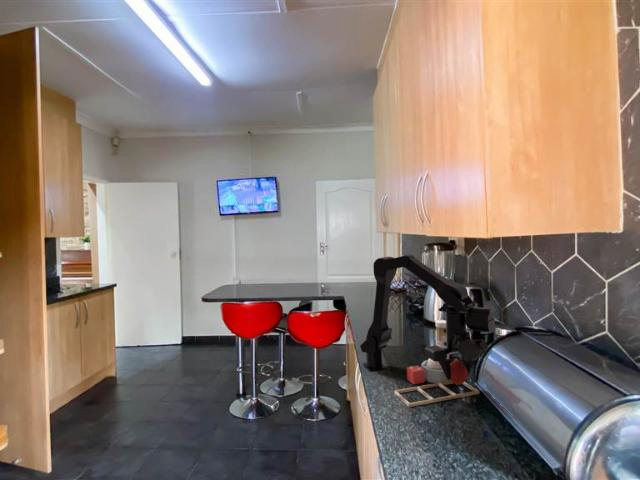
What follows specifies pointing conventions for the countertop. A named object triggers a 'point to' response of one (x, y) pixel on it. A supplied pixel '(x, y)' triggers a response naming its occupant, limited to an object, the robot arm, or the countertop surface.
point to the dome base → (425, 374)
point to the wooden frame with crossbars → (435, 398)
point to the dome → (433, 365)
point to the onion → (458, 372)
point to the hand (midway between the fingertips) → (457, 378)
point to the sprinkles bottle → (440, 333)
